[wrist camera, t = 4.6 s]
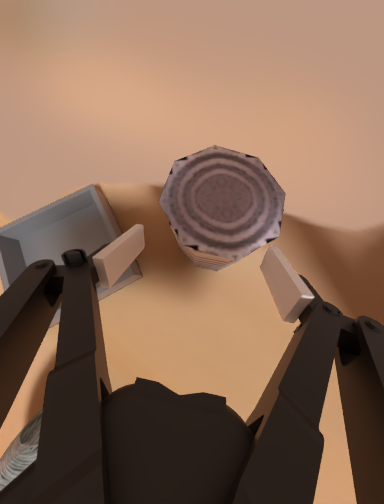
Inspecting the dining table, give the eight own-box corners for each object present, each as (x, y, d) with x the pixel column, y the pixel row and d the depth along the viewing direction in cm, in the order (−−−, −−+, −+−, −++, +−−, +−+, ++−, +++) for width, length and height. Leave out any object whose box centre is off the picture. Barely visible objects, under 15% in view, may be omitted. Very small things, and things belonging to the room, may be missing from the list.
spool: (43, 370, 18) (-59, 523, 9) (124, 374, 22) (111, 487, 12) (6, 466, 19) (-127, 705, 9) (90, 455, 22) (53, 623, 13)
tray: (143, 276, 24) (134, 274, 20) (43, 331, 22) (15, 339, 19) (105, 196, 27) (92, 183, 24) (17, 239, 26) (-11, 232, 22)
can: (186, 202, 27) (177, 135, 15) (250, 212, 26) (294, 150, 14) (171, 264, 24) (146, 242, 12) (241, 278, 23) (287, 269, 11)
